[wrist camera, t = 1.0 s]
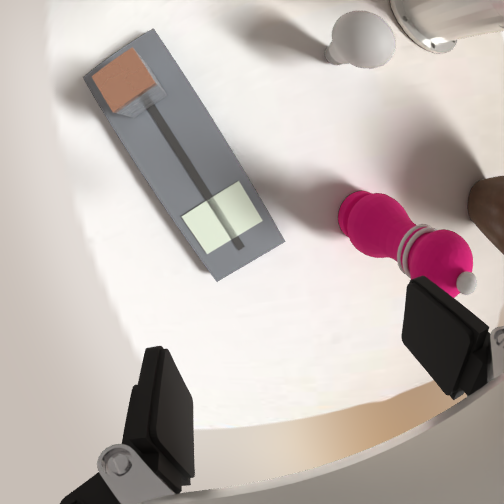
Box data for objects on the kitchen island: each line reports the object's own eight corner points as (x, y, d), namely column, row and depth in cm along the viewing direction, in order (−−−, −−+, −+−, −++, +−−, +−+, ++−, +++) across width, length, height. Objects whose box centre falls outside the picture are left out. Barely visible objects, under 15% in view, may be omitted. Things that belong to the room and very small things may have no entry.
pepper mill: (331, 242, 36) (427, 337, 18) (336, 185, 33) (457, 242, 15) (378, 241, 37) (483, 321, 19) (386, 188, 34) (509, 241, 16)
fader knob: (148, 66, 23) (132, 47, 17) (167, 95, 25) (155, 82, 19) (115, 88, 24) (91, 76, 17) (133, 117, 25) (112, 112, 19)
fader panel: (156, 34, 24) (153, 27, 22) (281, 235, 35) (285, 242, 33) (89, 80, 25) (82, 77, 23) (216, 274, 35) (216, 282, 33)
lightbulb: (352, 86, 29) (406, 72, 19) (303, 72, 28) (345, 47, 18) (357, 44, 27) (409, 19, 17) (310, 28, 26) (350, -8, 16)
